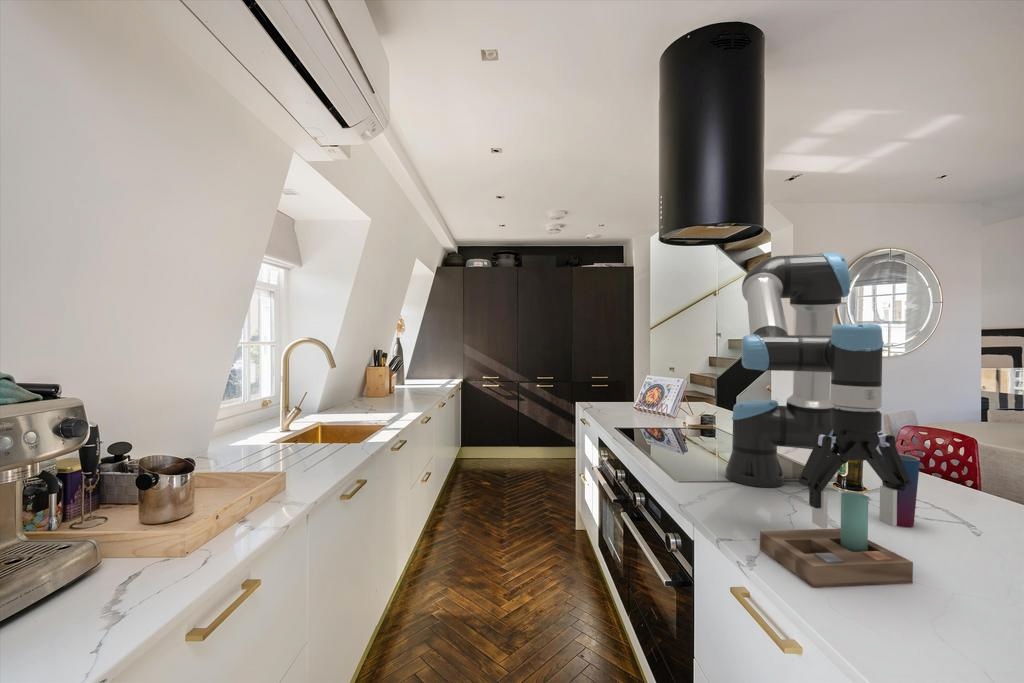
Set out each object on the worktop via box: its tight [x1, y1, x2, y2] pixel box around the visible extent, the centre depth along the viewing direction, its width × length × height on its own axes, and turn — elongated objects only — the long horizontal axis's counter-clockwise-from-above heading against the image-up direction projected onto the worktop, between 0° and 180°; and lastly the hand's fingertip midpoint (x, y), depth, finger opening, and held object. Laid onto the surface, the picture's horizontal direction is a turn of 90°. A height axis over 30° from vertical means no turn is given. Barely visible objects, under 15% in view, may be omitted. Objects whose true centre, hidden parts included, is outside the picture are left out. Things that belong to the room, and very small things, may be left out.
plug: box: [840, 491, 869, 552], centre depth 84 cm, size 4×4×12 cm
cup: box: [880, 453, 921, 528], centre depth 104 cm, size 7×7×15 cm
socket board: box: [759, 528, 914, 588], centre depth 84 cm, size 14×18×4 cm
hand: (854, 524), depth 84 cm, fingers open, 13 cm apart
